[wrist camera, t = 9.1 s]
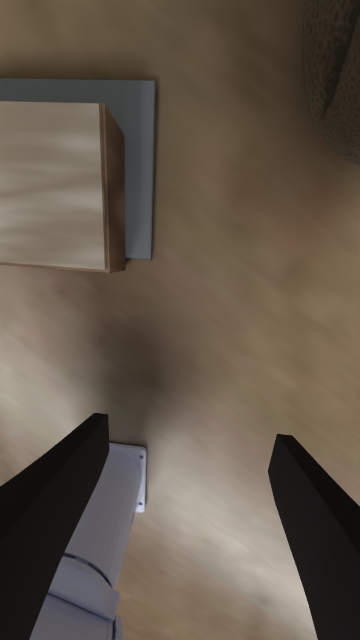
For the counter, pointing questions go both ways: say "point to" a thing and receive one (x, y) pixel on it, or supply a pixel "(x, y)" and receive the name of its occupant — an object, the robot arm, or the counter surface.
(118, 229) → the brown wooden block
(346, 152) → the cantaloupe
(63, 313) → the counter surface
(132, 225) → the mat
